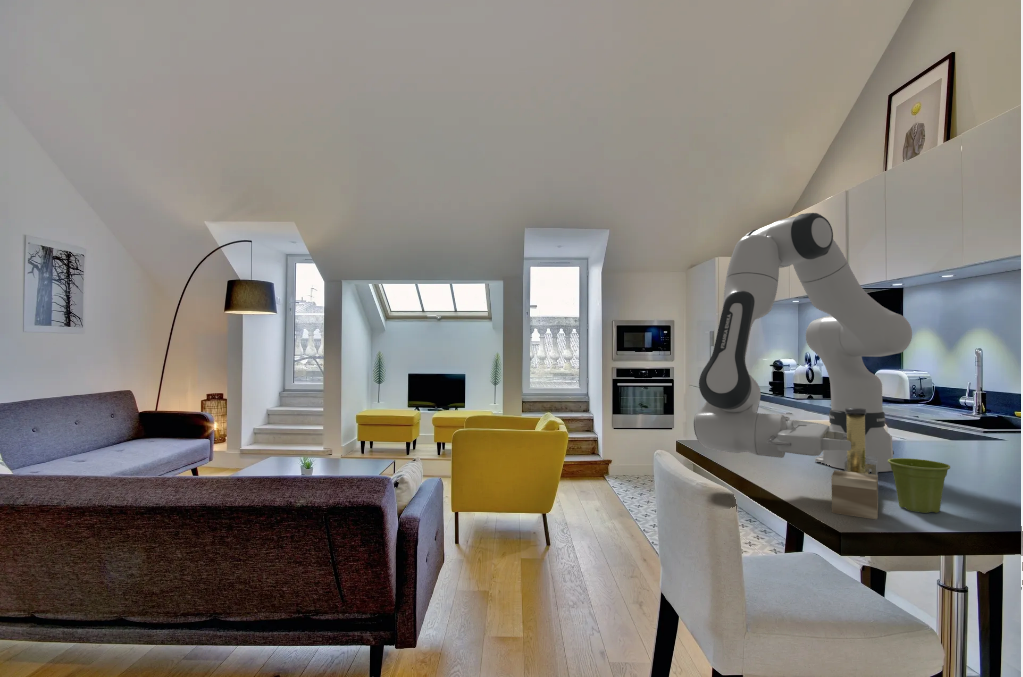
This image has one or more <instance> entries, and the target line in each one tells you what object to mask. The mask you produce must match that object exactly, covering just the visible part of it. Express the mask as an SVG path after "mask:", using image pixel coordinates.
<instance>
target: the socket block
mask: <svg viewBox="0 0 1023 677" xmlns="http://www.w3.org/2000/svg"><path fill="white" fill-rule="evenodd" d="M830 478H831V513H832V514H839V515H844V516H850V517H858V518H865V519H871V520H878V515H879V482H878V481H879V474H878V475H874V474H871V473H869V474H865V473H856V472H847V471H845V470H835V469H834V471H833V473H832V474H831V477H830Z"/></svg>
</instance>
